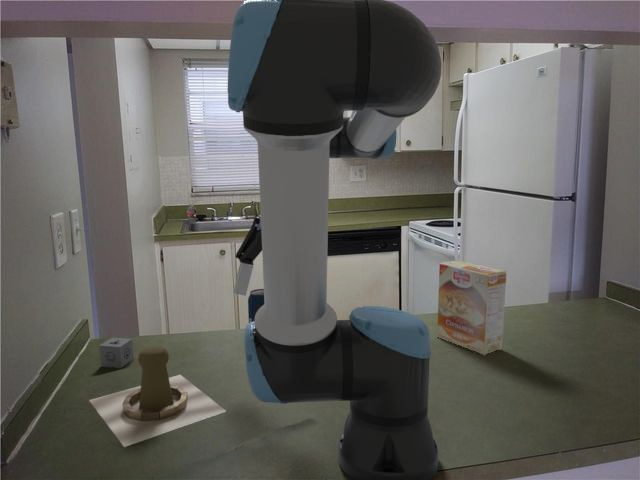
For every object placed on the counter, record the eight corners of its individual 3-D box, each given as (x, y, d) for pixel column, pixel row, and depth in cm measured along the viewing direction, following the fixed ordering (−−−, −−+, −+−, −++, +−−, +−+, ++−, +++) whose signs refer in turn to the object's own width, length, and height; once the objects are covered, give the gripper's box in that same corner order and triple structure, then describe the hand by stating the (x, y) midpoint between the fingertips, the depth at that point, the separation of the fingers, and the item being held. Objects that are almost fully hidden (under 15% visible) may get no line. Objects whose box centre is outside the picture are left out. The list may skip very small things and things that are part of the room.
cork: (163, 415, 91) (160, 355, 89) (132, 412, 92) (128, 353, 90) (179, 399, 97) (176, 343, 95) (149, 396, 98) (146, 341, 96)
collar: (197, 407, 93) (197, 400, 93) (136, 427, 87) (135, 419, 86) (172, 386, 102) (172, 379, 102) (115, 403, 95) (115, 395, 95)
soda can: (268, 330, 138) (267, 286, 136) (280, 338, 132) (280, 292, 130) (244, 335, 134) (243, 290, 132) (256, 343, 128) (254, 296, 126)
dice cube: (100, 366, 115) (99, 345, 114) (113, 358, 120) (112, 337, 119) (121, 368, 114) (120, 347, 113) (133, 359, 119) (132, 338, 118)
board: (226, 417, 92) (226, 411, 92) (124, 453, 81) (124, 446, 81) (180, 379, 108) (180, 374, 108) (89, 406, 97) (88, 400, 97)
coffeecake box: (435, 337, 132) (438, 262, 129) (455, 332, 136) (458, 259, 133) (483, 356, 120) (487, 274, 116) (503, 350, 123) (507, 270, 120)
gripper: (338, 204, 98) (311, 314, 96) (263, 201, 117) (239, 293, 115) (309, 192, 93) (280, 307, 91) (236, 191, 112) (210, 286, 110)
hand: (257, 300), depth 103 cm, fingers open, 13 cm apart
